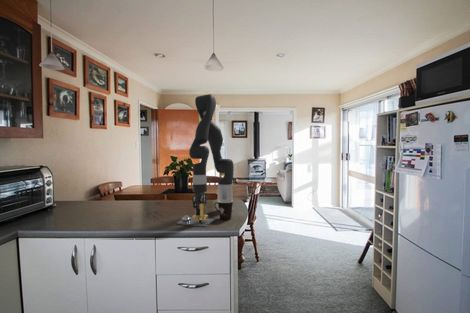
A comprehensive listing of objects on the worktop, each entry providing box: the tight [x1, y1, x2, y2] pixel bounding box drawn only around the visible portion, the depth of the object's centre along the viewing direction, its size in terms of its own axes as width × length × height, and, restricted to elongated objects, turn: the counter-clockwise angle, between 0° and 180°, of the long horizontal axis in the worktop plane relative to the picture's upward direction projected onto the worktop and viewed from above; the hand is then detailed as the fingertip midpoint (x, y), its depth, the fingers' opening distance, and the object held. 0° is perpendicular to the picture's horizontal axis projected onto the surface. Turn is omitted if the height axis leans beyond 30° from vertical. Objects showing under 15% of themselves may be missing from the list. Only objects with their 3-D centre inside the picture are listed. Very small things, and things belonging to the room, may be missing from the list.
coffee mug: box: [213, 200, 234, 221], centre depth 160 cm, size 12×9×10 cm
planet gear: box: [191, 203, 209, 220], centre depth 150 cm, size 8×8×8 cm
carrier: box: [176, 214, 216, 227], centre depth 151 cm, size 12×17×5 cm
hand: (200, 213), depth 150 cm, fingers open, 5 cm apart
